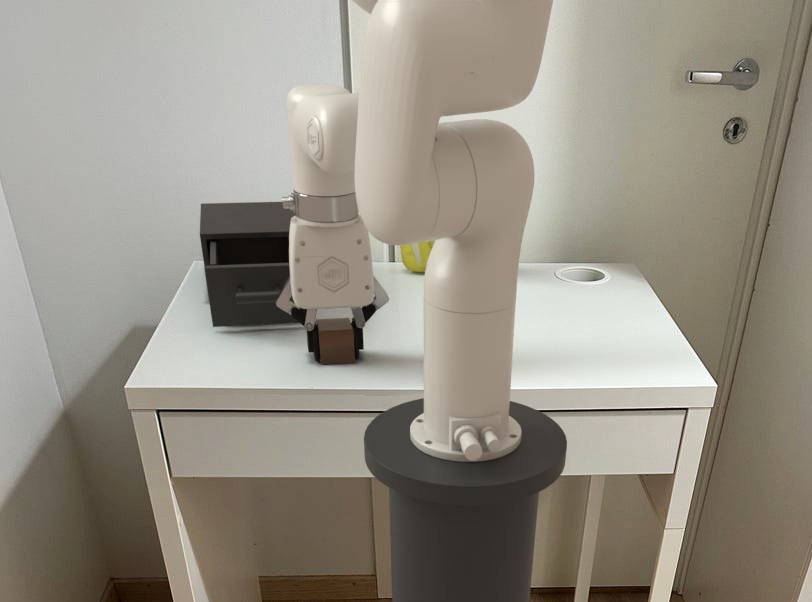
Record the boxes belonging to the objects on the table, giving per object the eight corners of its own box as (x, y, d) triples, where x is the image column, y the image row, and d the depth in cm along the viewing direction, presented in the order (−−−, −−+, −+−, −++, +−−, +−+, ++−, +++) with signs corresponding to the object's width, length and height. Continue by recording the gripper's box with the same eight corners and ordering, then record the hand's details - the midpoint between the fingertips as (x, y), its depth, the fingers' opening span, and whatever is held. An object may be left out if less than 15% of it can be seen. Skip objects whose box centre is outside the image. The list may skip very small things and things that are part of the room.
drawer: (313, 333, 124) (309, 274, 119) (213, 338, 121) (204, 278, 117) (302, 285, 140) (297, 231, 135) (212, 289, 137) (205, 234, 132)
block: (355, 362, 118) (353, 329, 116) (321, 364, 118) (318, 330, 115) (351, 350, 122) (349, 317, 119) (318, 352, 121) (315, 318, 118)
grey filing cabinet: (308, 298, 138) (303, 230, 132) (209, 302, 135) (199, 234, 129) (299, 263, 151) (294, 201, 145) (209, 266, 149) (200, 203, 143)
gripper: (255, 216, 104) (272, 371, 115) (401, 212, 107) (404, 363, 118) (253, 200, 110) (269, 349, 121) (392, 197, 113) (395, 342, 124)
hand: (336, 354), depth 120 cm, fingers closed on block, 4 cm apart
